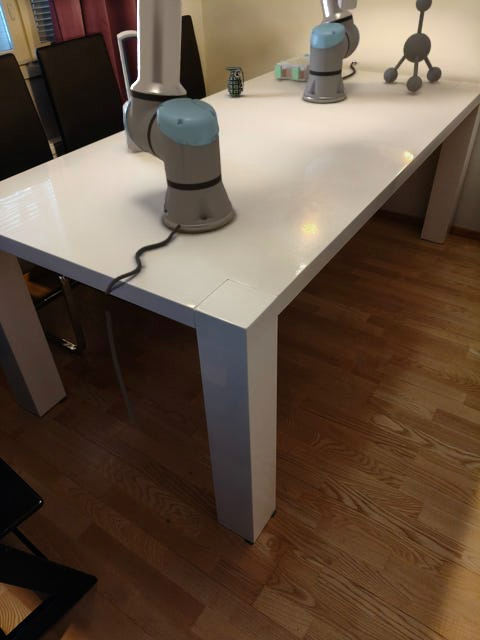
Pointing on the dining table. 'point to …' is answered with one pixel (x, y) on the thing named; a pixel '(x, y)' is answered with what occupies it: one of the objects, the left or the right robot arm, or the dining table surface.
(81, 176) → the dining table surface
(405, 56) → the molecular model
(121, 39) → the electronic device
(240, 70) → the grenade
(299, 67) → the plastic storage case
